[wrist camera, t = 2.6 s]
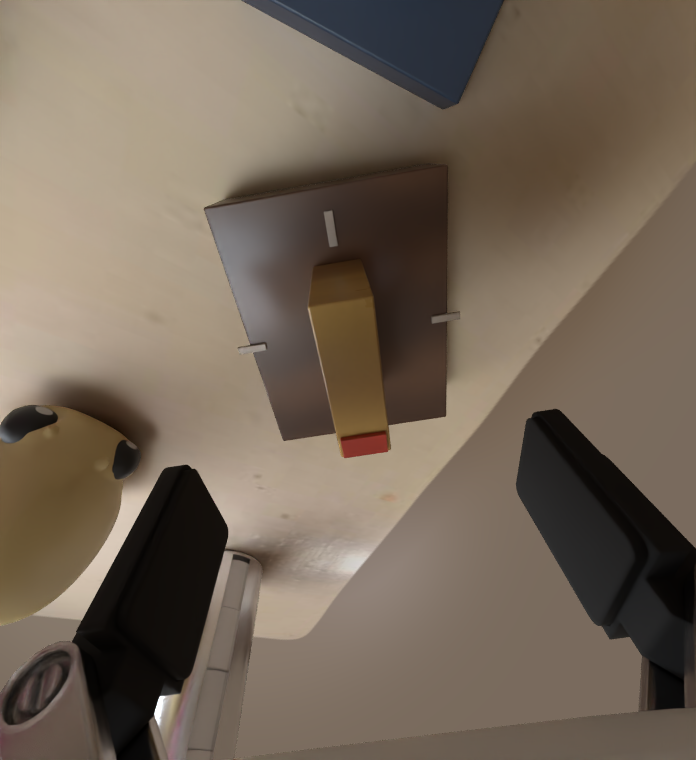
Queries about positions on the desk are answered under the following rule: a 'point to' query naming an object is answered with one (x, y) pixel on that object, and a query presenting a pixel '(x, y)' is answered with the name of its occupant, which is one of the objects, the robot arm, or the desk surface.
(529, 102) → the desk surface
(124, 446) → the toy dog
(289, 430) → the control panel
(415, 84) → the button box
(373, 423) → the rotary knob
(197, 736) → the silver tall cylinder
